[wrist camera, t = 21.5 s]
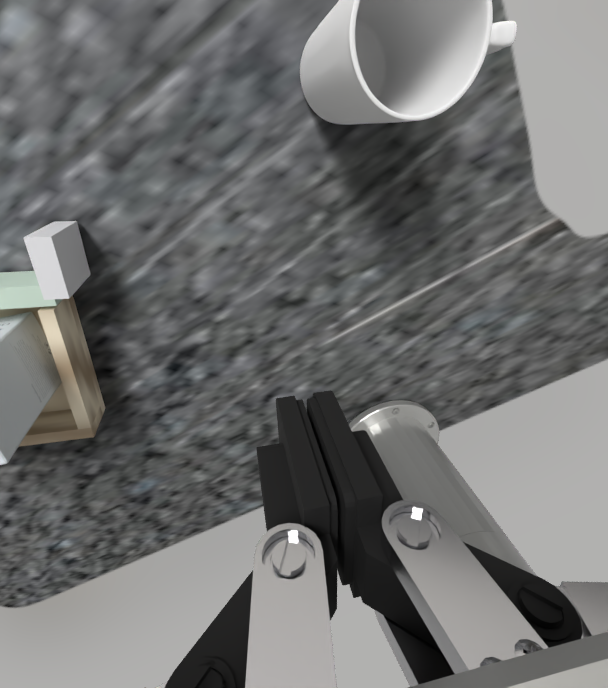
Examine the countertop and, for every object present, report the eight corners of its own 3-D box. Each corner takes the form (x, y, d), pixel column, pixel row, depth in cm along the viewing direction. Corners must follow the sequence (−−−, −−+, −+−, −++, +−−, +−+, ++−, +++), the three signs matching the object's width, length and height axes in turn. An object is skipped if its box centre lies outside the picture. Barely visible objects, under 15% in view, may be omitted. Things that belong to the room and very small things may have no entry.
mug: (299, 131, 28) (350, 126, 18) (290, 15, 25) (348, -74, 15) (424, 121, 30) (538, 110, 20) (431, 10, 27) (573, -74, 16)
